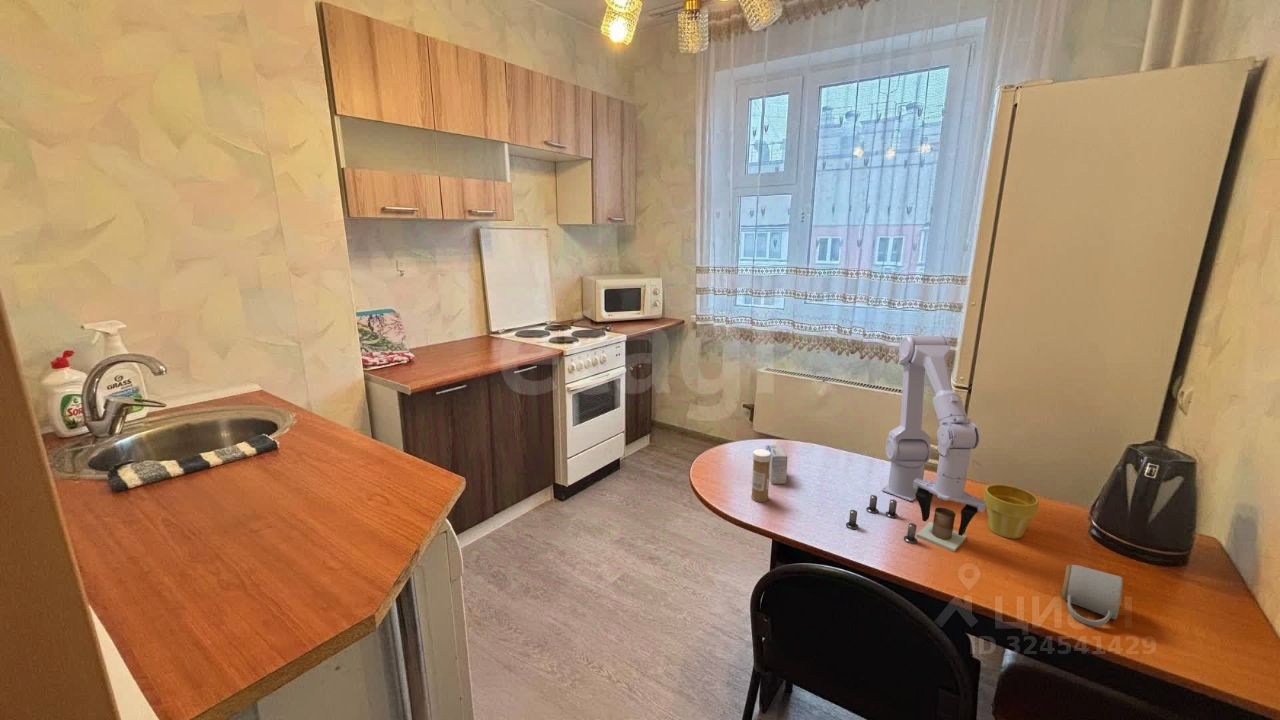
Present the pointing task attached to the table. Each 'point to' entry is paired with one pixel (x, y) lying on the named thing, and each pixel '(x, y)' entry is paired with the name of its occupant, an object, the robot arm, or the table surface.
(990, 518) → the plant pot
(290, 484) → the table surface
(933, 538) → the pad
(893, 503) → the slalom posts
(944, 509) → the walnut peg
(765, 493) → the sprinkles bottle
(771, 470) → the medicine box
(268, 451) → the table surface
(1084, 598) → the ceramic mug
